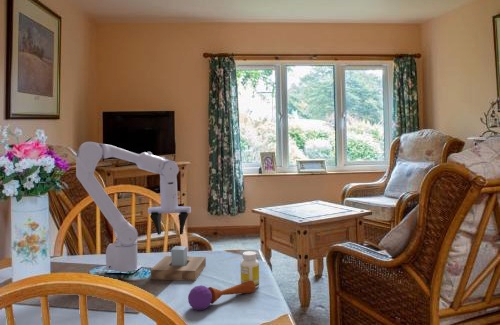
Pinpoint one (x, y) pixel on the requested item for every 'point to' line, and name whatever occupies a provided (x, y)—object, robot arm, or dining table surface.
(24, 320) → the dining table surface
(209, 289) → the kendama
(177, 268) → the socket block
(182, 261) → the peg
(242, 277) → the supplement bottle
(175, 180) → the robot arm
